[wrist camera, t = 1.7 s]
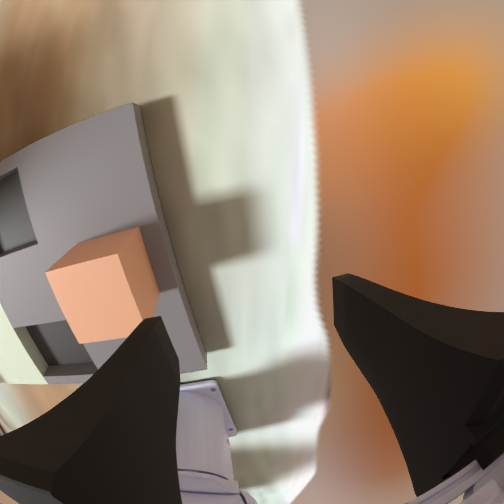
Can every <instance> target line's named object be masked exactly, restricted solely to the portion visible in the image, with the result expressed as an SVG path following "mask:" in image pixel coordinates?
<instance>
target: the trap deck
mask: <svg viewBox="0 0 504 504" xmlns="http://www.w3.org/2000/svg"><path fill="white" fill-rule="evenodd" d="M135 227H139V228H140V232H141V235H142V238H143V242H144V245H145V248H146V252H147V255H148V258H149V261H150V264H151V267H152V270H153V273H154V276H155V279H156V282H157V285H158V288H159V291H160V294H159V298H158V301H157V305H156V309H155V312H154V316H153V317H157V316H161V317H162V320H163V322H164V325H165V327H166V330H167V332H168V335H169V337H170V340H171V342H172V344H173V347H174V349H175V351H176V354H177V356H178V358H179V366H180V374H181V373H188V372H194V371H200V370H206V369H207V353H206V350H205V347H204V344H203V342H202V339H201V336H200V333H199V330H198V327H197V324H196V321H195V319H194V316H193V313H192V309H191V306H190V303H189V300H188V297H187V294H186V291H185V288H184V284H183V281H182V278H181V275H180V271H179V268H178V265H177V261H176V258H175V254H174V251H173V247H172V244H171V240H170V236H169V233H168V229H167V225H166V222H165V218H164V214H163V210H162V206H161V202H160V198H159V194H158V190H157V186H156V181H155V177H154V173H153V168H152V164H151V159H150V154H149V150H148V145H147V140H146V135H145V130H144V125H143V119H142V114H141V108H140V106H138V105H136V104H134V103H129V104H126V105H123V106H120V107H117V108H114V109H111V110H109V111H106V112H103V113H100V114H98V115H95V116H92V117H90V118H87V119H85V120H82V121H80V122H77V123H75V124H73V125H70V126H68V127H66V128H63V129H61V130H59V131H57V132H55V133H53V134H50V135H48V136H46V137H44V138H42V139H40V140H38V141H36V142H34V143H32V144H30V145H28V146H27V147H25V148H23V149H21V150H19V151H17V152H16V153H14V154H12V155H10V156H9V157H7V158H5V159H3V160H2V161H0V383H15V384H78V383H85V382H86V381H87V380H88V379H89V378H90V377H91V376H92V375H93V374H94V373H95V372H96V371H97V370H98V369H99V368H100V367H101V366H102V365H103V364H104V363H105V362H106V361H107V360H108V359H109V358H110V357H111V355H112V354H113V353H114V352H115V351H116V350H117V349H118V348H119V346H120V345H121V344H122V343H123V342H124V341H125V340H126V338H127V337H126V338H119V339H112V340H105V341H98V342H90V343H82V344H79V343H78V341H77V339H76V337H75V335H74V333H73V332H72V330H71V328H70V326H69V324H68V322H67V320H66V318H65V316H64V314H63V312H62V310H61V308H60V306H59V303H58V301H57V299H56V297H55V295H54V293H53V290H52V288H51V286H50V283H49V281H48V279H47V276H46V274H45V272H46V271H47V270H48V269H49V268H50V267H51V266H52V265H53V264H55V263H56V262H57V261H58V260H59V259H60V258H61V257H62V256H63V255H65V254H66V253H67V252H68V251H69V250H70V249H71V248H73V247H74V246H75V245H76V244H77V243H80V242H84V241H87V240H91V239H94V238H98V237H101V236H105V235H109V234H112V233H116V232H120V231H124V230H127V229H131V228H135Z"/></svg>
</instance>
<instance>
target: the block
mask: <svg viewBox="0 0 504 504" xmlns="http://www.w3.org/2000/svg"><path fill="white" fill-rule="evenodd" d="M45 274H46V276H47V279H48V281H49V283H50V286H51V288H52V290H53V293H54V295H55V297H56V299H57V301H58V303H59V306H60V308H61V310H62V312H63V314H64V316H65V318H66V320H67V322H68V324H69V326H70V328H71V330H72V332H73V333H74V335H75V337H76V339H77V341H78V343H79V344H82V343H90V342H98V341H105V340H112V339H119V338H126V337H128V336H129V335H130V334H131V333H132V331H133V330H134V329H135V328H136V327H137V326H138V325H139V324H140V323H141V322H142V321H143V320H144V319H146V318H151V317H153V316H154V312H155V309H156V305H157V301H158V298H159V294H160V291H159V288H158V285H157V282H156V279H155V276H154V273H153V270H152V267H151V264H150V261H149V258H148V255H147V252H146V248H145V245H144V242H143V238H142V235H141V232H140V228H139V227H135V228H131V229H127V230H124V231H120V232H116V233H112V234H109V235H105V236H101V237H98V238H94V239H91V240H87V241H84V242H80V243H77V244H76V245H75V246H74V247H73V248H71V249H70V250H69V251H68V252H67V253H66V254H65V255H63V256H62V257H61V258H60V259H59V260H58V261H57V262H56V263H55V264H53V265H52V266H51V267H50V268H49V269H48V270H47V271H46V272H45Z"/></svg>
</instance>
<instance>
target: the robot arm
mask: <svg viewBox="0 0 504 504" xmlns="http://www.w3.org/2000/svg"><path fill="white" fill-rule="evenodd" d="M332 280H333V304H334V326H335V328H336V330H337V332H338V334H339V336H340V338H341V340H342V342H343V344H344V346H345V348H346V349H347V351H348V352H349V354H350V356H351V357H352V358H353V360H354V362H355V363H356V365H357V366H358V368H359V369H360V371H361V372H362V374H363V375H364V377H365V378H366V380H367V381H368V383H369V384H370V385H371V387H372V388H373V390H374V392H375V393H376V395H377V397H378V399H379V401H380V403H381V405H382V407H383V409H384V411H385V413H386V415H387V417H388V419H389V422H390V424H391V426H392V428H393V430H394V433H395V435H396V438H397V440H398V443H399V445H400V448H401V451H402V453H403V456H404V459H405V461H406V464H407V467H408V470H409V474H410V477H411V480H412V484H413V488H414V491H415V494H416V496H417V498H415V499H413V500H411V501H409V502H407V503H405V504H448V503H450V502H451V501H453V500H454V499H456V498H457V497H459V496H460V495H461V494H463V493H464V492H465V494H464V496H463V501H462V503H460V504H504V312H483V311H474V310H466V309H459V308H454V307H449V306H444V305H440V304H435V303H431V302H428V301H424V300H421V299H418V298H415V297H412V296H408V295H405V294H403V293H400V292H397V291H394V290H392V289H389V288H386V287H384V286H381V285H379V284H376V283H374V282H371V281H369V280H366V279H363V278H361V277H358V276H355V275H352V274H344V275H340V276H337V277H333V278H332ZM212 388H214V389H212ZM236 435H237V430H236V427H235V425H234V423H233V420H232V418H231V416H230V413H229V411H228V408H227V406H226V404H225V401H224V399H223V396H222V394H221V391H220V389H219V386H218V384H217V382H216V381H215V380H207V381H201V382H195V383H189V384H182V385H180V366H179V358H178V356H177V354H176V351H175V349H174V347H173V344H172V342H171V340H170V337H169V335H168V332H167V330H166V327H165V325H164V322H163V320H162V317H161V316H157V317H151V318H146V319H144V320H143V321H142V322H141V323H140V324H139V325H138V326H137V327H136V328H135V329H134V330H133V331H132V333H131V334H130V335H129V336H128V337H127V338H126V340H125V341H124V342H123V343H122V344H121V345H120V346H119V348H118V349H117V350H116V351H115V352H114V353H113V354H112V355H111V357H110V358H109V359H108V360H107V361H106V362H105V363H104V364H103V365H102V366H101V367H100V368H99V369H98V370H97V371H96V372H95V373H94V374H93V375H92V376H91V377H90V378H89V379H88V380H87V381H86V382H85V383H84V384H83V385H82V386H80V387H79V388H78V389H77V390H76V391H75V392H73V393H72V394H71V395H70V396H68V397H67V398H66V399H64V400H63V401H62V402H60V403H59V404H58V405H56V406H55V407H53V408H52V409H51V410H49V411H48V412H46V413H45V414H43V415H41V416H40V417H38V418H37V419H35V420H33V421H31V422H30V423H28V424H26V425H24V426H22V427H20V428H18V429H16V430H14V431H11V432H9V433H7V434H5V435H2V436H0V490H1V491H2V492H4V493H5V494H7V495H8V496H9V497H11V498H12V499H13V500H15V501H16V502H18V503H19V504H258V503H257V502H256V500H255V499H254V498H253V497H252V496H251V495H250V494H249V493H248V492H246V491H239V484H238V481H234V474H233V466H232V459H231V451H230V443H229V437H231V436H236ZM0 504H1V503H0Z"/></svg>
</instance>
